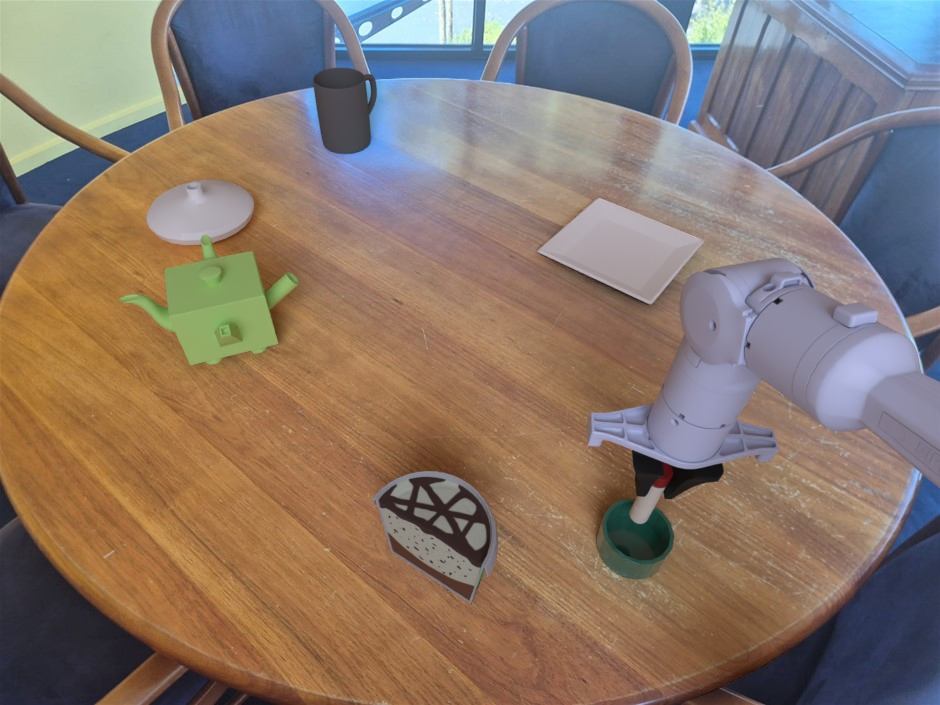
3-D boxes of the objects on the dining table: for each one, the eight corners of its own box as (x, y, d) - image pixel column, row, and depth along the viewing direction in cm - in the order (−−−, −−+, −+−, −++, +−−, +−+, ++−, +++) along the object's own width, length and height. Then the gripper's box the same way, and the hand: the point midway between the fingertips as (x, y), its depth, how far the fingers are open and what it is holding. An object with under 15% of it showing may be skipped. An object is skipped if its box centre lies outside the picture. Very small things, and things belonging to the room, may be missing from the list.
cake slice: (516, 559, 61) (526, 509, 54) (484, 613, 57) (489, 566, 50) (415, 498, 65) (411, 444, 58) (379, 544, 62) (369, 492, 54)
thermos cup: (678, 562, 61) (688, 546, 59) (621, 591, 59) (629, 575, 57) (638, 506, 65) (646, 489, 63) (583, 530, 63) (589, 514, 61)
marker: (652, 520, 59) (678, 475, 53) (636, 527, 59) (660, 483, 52) (640, 503, 61) (664, 457, 54) (624, 510, 60) (646, 465, 54)
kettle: (147, 358, 78) (112, 291, 70) (218, 290, 87) (194, 223, 79) (248, 394, 74) (224, 327, 66) (311, 319, 84) (296, 252, 75)
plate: (535, 261, 93) (536, 250, 92) (596, 206, 104) (598, 195, 102) (647, 314, 86) (651, 303, 84) (701, 250, 96) (705, 239, 95)
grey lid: (136, 221, 98) (119, 181, 92) (230, 187, 105) (219, 148, 100) (178, 270, 90) (162, 230, 84) (276, 230, 97) (267, 190, 92)
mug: (348, 160, 112) (340, 94, 103) (312, 144, 115) (300, 79, 106) (396, 131, 120) (392, 67, 111) (361, 117, 123) (354, 54, 114)
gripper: (787, 364, 48) (726, 457, 58) (599, 347, 48) (571, 442, 58) (813, 441, 43) (741, 527, 53) (604, 422, 44) (573, 511, 54)
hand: (653, 488), depth 56 cm, fingers closed on marker, 2 cm apart
